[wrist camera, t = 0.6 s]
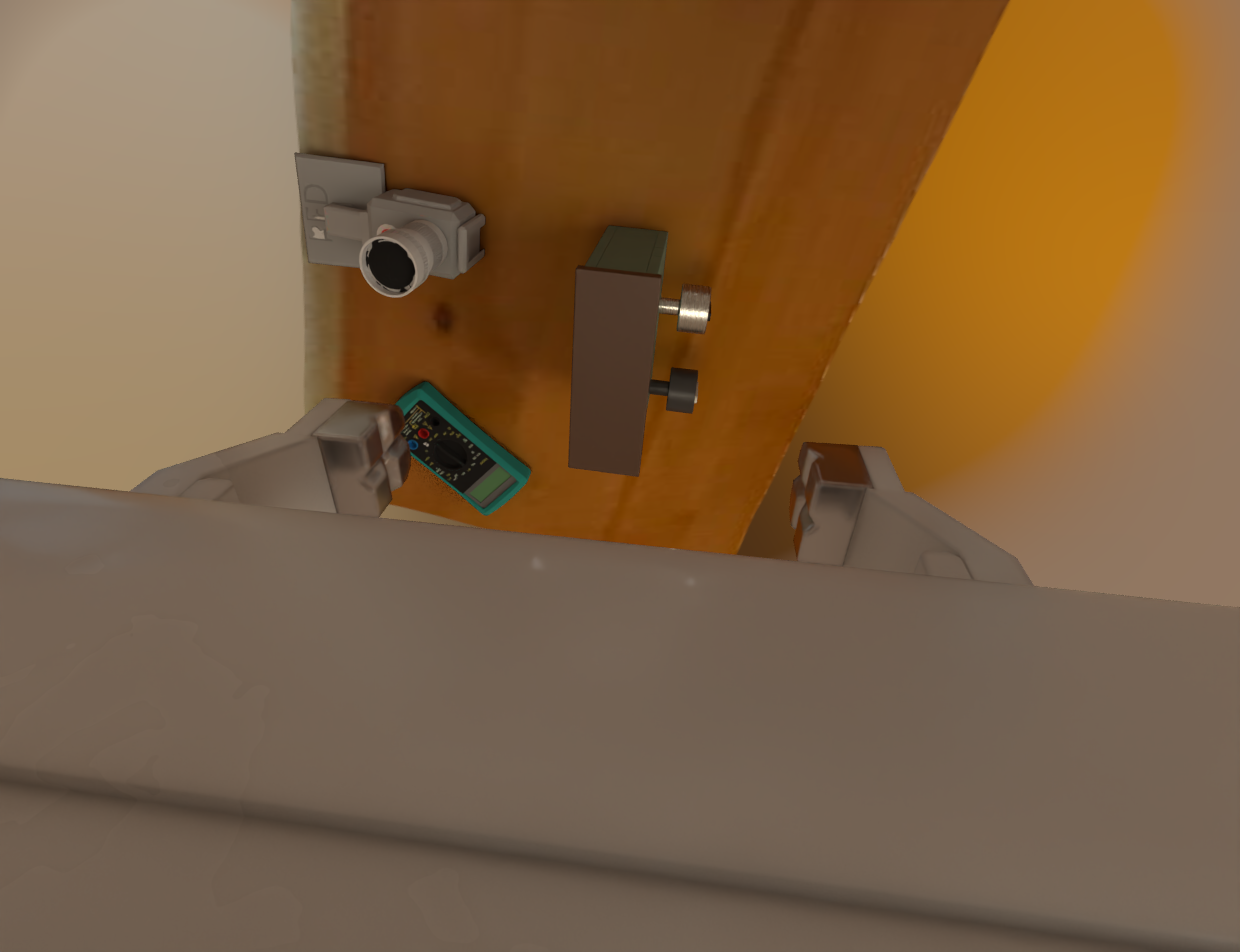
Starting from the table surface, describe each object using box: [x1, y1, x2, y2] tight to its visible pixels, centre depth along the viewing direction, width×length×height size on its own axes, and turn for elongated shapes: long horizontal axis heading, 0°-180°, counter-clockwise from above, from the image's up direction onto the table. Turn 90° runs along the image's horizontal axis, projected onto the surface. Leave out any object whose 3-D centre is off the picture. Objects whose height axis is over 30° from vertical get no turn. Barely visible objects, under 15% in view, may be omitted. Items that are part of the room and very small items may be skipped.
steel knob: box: [658, 284, 711, 334], centre depth 49 cm, size 6×4×4 cm, turn 86°
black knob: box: [649, 367, 698, 413], centre depth 53 cm, size 6×4×4 cm, turn 86°
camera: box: [295, 153, 485, 298], centre depth 50 cm, size 9×12×15 cm
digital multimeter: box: [395, 382, 531, 515], centre depth 66 cm, size 7×15×3 cm, turn 45°
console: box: [568, 225, 668, 477], centre depth 51 cm, size 6×16×14 cm, turn 176°
